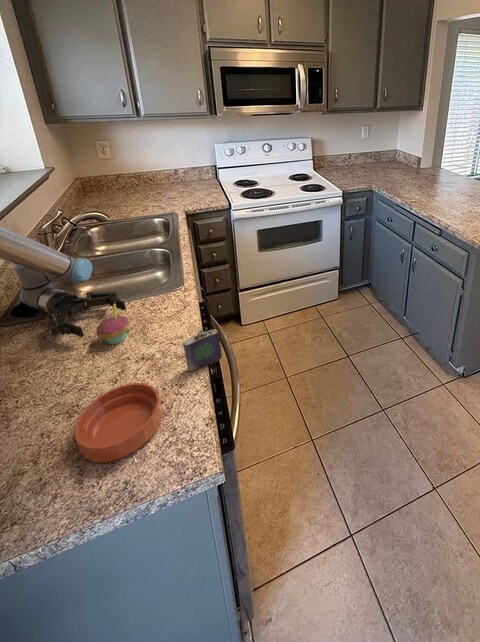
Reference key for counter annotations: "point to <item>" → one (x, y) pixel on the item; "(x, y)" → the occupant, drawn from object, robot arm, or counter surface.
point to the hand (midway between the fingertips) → (104, 318)
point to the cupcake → (113, 328)
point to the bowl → (118, 422)
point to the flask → (202, 349)
